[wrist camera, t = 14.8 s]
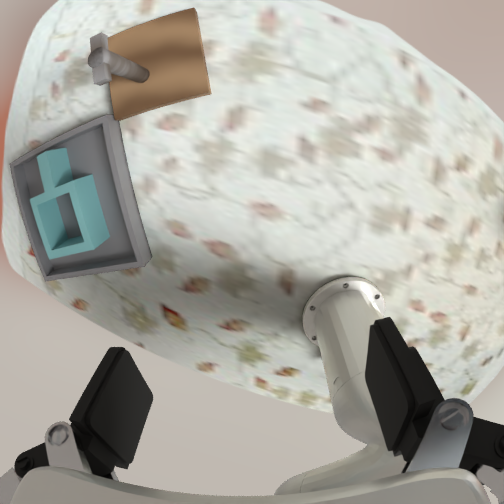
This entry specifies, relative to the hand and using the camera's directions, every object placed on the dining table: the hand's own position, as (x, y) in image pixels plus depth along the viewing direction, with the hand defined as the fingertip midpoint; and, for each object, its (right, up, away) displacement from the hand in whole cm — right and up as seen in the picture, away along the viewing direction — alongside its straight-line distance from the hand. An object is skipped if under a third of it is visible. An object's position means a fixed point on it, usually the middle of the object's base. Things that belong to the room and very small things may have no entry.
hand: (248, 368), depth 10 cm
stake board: (-11, +27, +18) cm, 34 cm away
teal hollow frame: (-25, +12, +24) cm, 36 cm away
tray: (-25, +11, +25) cm, 37 cm away
